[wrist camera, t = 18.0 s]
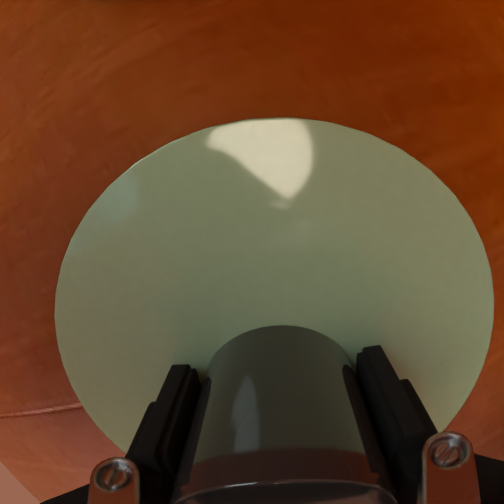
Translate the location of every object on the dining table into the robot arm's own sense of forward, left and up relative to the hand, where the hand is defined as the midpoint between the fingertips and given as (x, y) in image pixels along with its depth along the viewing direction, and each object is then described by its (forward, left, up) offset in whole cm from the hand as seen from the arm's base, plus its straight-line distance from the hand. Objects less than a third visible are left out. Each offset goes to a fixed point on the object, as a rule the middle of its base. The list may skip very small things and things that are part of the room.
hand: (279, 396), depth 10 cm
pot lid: (0, 0, -1) cm, 1 cm away
